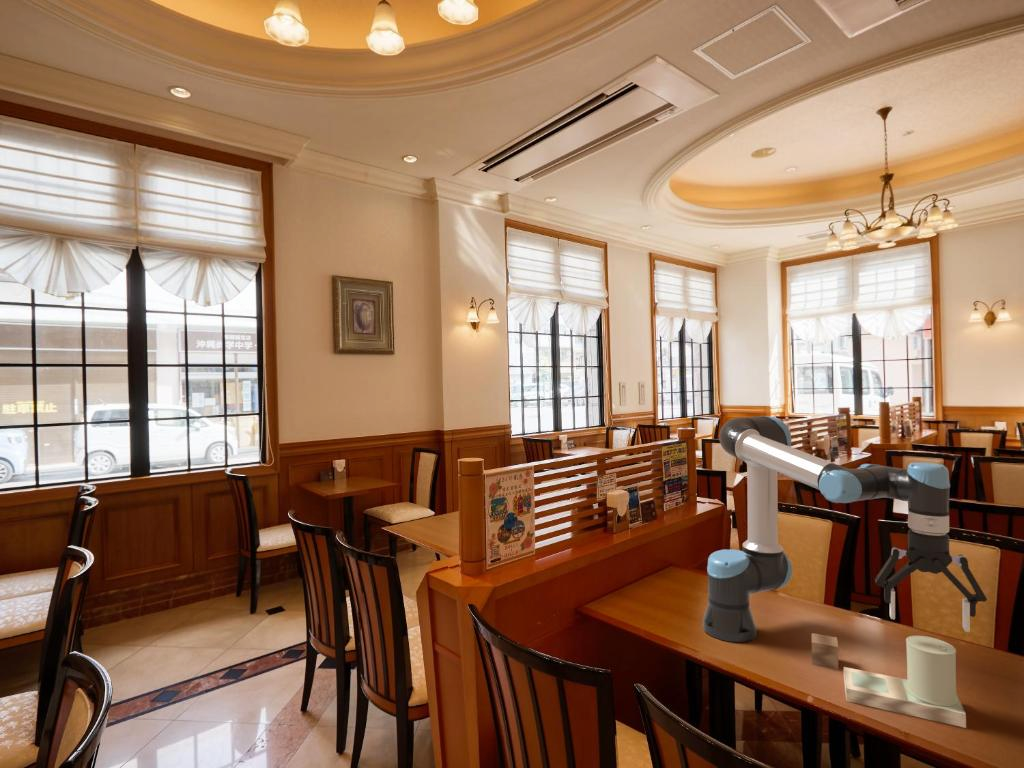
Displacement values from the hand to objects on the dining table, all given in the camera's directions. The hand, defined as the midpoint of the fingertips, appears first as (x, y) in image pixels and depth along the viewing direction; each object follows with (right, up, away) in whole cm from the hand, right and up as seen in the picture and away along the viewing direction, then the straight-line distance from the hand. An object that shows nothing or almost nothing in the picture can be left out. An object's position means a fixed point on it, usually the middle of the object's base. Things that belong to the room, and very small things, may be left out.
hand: (928, 623), depth 125 cm
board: (-5, -19, +2) cm, 20 cm away
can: (0, -16, 0) cm, 16 cm away
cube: (-12, -20, +21) cm, 31 cm away
